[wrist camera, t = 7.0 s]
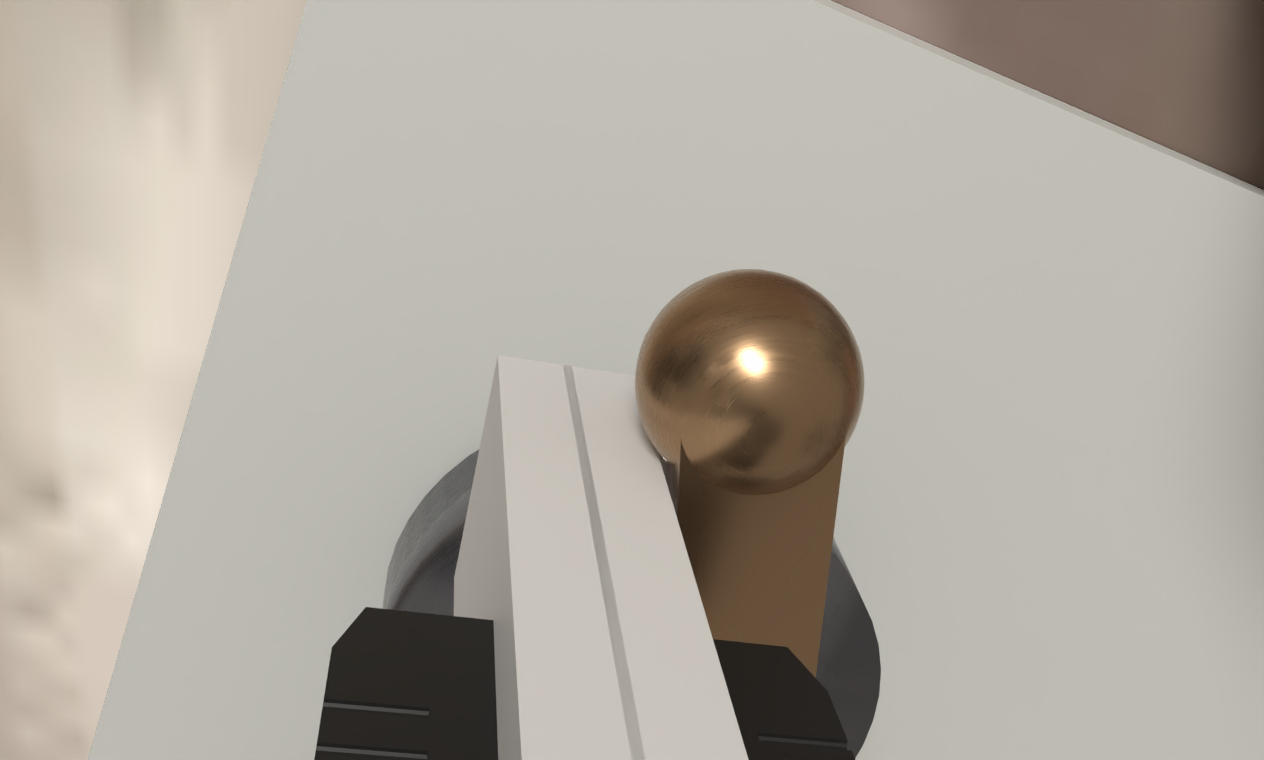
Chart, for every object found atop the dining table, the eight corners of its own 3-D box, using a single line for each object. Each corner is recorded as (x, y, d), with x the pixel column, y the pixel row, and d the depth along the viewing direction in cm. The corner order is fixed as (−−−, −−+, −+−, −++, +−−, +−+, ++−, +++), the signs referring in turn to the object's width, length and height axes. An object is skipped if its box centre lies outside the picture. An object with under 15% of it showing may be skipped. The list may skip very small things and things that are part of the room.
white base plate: (104, 724, 26) (-98, 1245, 17) (374, -200, 19) (272, -163, 9) (1117, 934, 34) (1357, 1373, 25) (1607, 340, 26) (2223, 654, 17)
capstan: (97, 39, 18) (-442, 427, 7) (1108, 41, 19) (1825, 355, 9) (234, 807, 25) (61, 1547, 15) (960, 757, 27) (1266, 1384, 16)
